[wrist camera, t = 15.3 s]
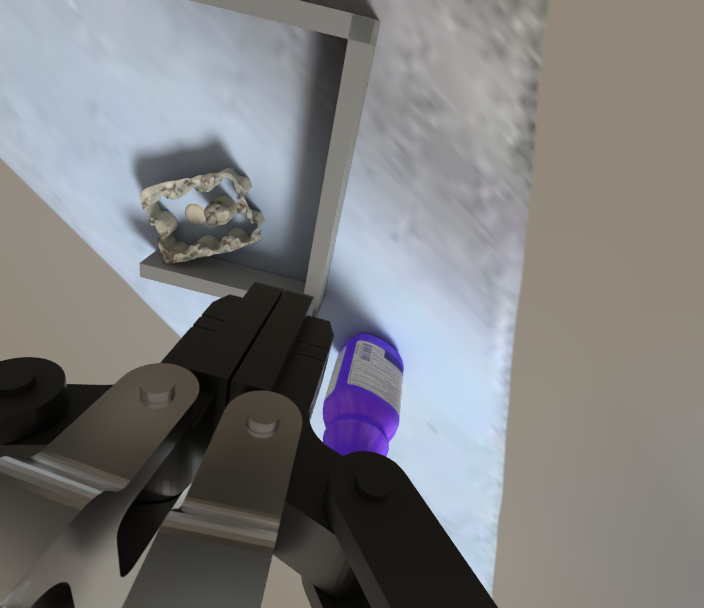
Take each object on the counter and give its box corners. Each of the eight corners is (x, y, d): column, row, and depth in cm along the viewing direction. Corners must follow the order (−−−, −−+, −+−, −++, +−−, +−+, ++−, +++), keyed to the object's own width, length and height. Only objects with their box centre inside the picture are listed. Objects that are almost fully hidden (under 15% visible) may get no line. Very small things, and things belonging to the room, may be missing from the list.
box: (157, -33, 33) (122, -44, 29) (380, 22, 33) (374, 18, 29) (163, 257, 46) (140, 276, 42) (323, 298, 46) (314, 321, 42)
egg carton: (179, 251, 46) (159, 267, 43) (149, 180, 43) (124, 192, 39) (273, 236, 44) (260, 252, 40) (249, 160, 40) (232, 171, 37)
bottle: (331, 353, 49) (291, 484, 35) (359, 320, 47) (328, 446, 32) (383, 385, 51) (366, 525, 36) (413, 355, 48) (408, 492, 33)
